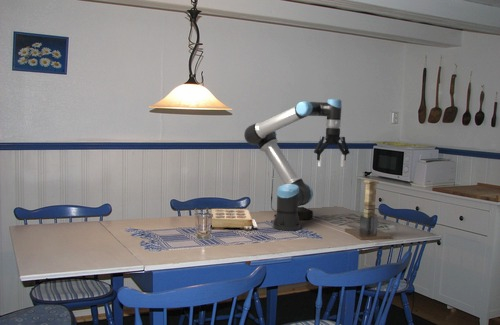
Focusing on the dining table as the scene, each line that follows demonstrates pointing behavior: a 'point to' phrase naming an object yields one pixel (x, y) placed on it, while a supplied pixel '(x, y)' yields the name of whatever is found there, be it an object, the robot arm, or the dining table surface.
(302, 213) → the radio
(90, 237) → the dining table surface
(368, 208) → the column
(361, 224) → the stand
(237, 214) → the beige slotted box
